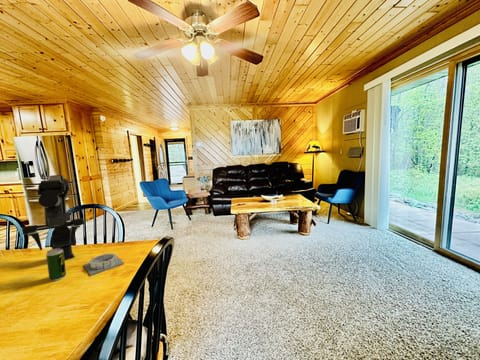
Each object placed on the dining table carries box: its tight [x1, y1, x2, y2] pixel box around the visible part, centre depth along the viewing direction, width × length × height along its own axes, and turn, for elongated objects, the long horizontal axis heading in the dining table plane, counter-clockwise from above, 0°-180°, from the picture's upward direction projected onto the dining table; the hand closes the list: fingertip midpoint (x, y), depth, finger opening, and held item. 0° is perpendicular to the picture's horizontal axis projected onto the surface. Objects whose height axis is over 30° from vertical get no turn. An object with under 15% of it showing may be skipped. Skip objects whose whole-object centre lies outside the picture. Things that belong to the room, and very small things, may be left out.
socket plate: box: [83, 256, 125, 277], centre depth 97 cm, size 13×13×1 cm
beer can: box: [45, 248, 67, 282], centre depth 86 cm, size 5×5×12 cm
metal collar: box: [88, 252, 118, 270], centre depth 97 cm, size 10×10×2 cm
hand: (56, 247), depth 85 cm, fingers open, 9 cm apart
